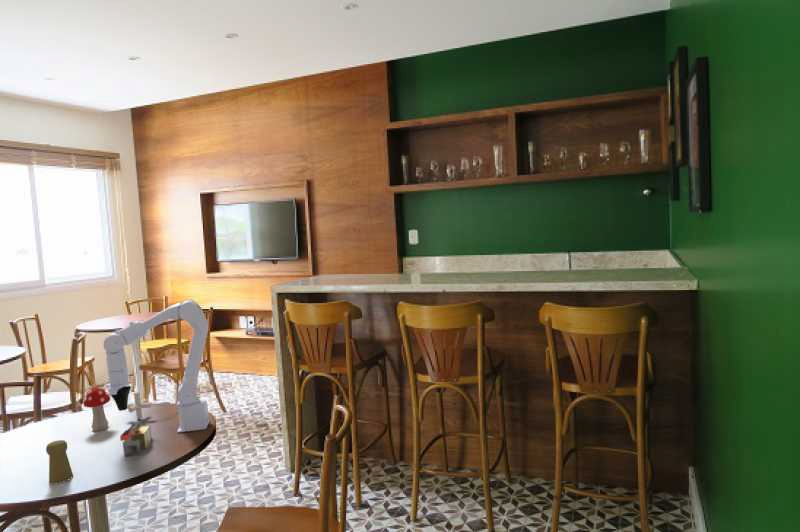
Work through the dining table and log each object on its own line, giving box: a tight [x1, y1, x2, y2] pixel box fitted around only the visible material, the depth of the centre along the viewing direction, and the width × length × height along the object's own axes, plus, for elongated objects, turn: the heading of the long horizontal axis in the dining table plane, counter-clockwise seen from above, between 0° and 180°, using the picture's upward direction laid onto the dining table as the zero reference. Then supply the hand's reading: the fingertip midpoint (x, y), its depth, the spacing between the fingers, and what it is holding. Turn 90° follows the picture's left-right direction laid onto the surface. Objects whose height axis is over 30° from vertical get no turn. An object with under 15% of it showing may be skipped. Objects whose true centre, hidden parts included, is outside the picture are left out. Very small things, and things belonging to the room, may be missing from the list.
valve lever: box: [119, 421, 142, 442], centre depth 177 cm, size 12×3×1 cm, turn 7°
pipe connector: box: [126, 391, 153, 420], centre depth 211 cm, size 10×10×10 cm
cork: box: [45, 439, 74, 484], centre depth 162 cm, size 6×6×11 cm
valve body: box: [122, 424, 153, 457], centre depth 183 cm, size 6×14×6 cm, turn 9°
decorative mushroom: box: [83, 386, 111, 432], centre depth 204 cm, size 10×9×15 cm
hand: (122, 409), depth 189 cm, fingers closed
